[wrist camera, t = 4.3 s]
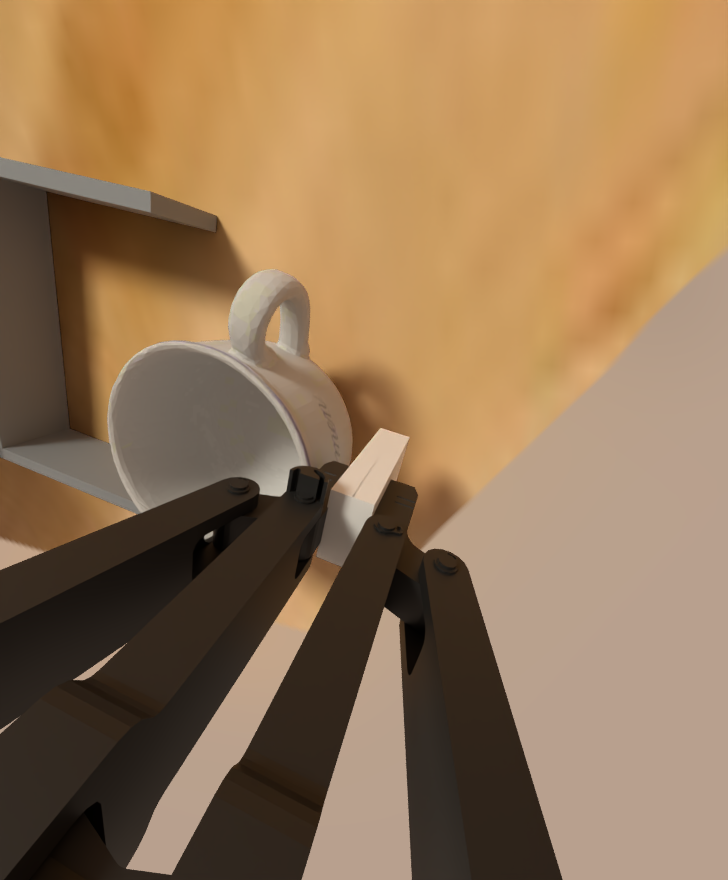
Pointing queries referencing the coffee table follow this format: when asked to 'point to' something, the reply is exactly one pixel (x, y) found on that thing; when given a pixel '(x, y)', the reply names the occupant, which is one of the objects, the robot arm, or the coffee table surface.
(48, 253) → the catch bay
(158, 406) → the teacup
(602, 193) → the coffee table surface
